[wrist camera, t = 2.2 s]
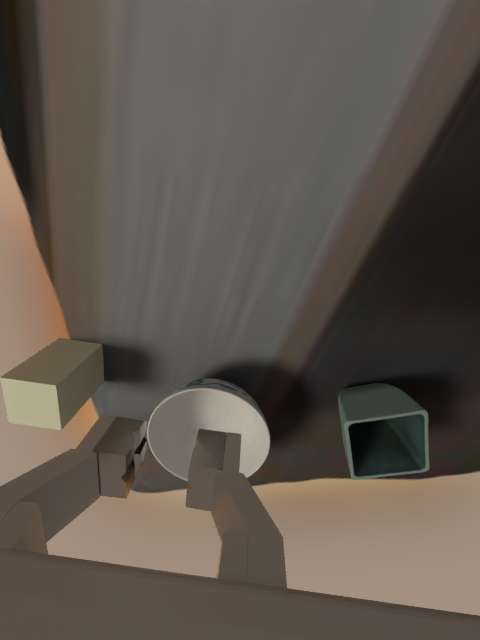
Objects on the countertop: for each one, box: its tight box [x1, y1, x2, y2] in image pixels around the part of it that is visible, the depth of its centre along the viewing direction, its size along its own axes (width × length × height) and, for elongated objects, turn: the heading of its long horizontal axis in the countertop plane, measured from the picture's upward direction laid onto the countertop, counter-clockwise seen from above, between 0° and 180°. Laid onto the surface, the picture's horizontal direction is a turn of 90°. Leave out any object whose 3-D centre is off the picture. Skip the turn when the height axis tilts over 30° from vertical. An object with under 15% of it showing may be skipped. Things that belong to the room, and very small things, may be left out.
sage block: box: [0, 338, 104, 430], centre depth 36 cm, size 6×6×10 cm
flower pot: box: [338, 383, 429, 480], centre depth 37 cm, size 9×9×9 cm
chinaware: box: [147, 379, 270, 481], centre depth 39 cm, size 15×15×8 cm
